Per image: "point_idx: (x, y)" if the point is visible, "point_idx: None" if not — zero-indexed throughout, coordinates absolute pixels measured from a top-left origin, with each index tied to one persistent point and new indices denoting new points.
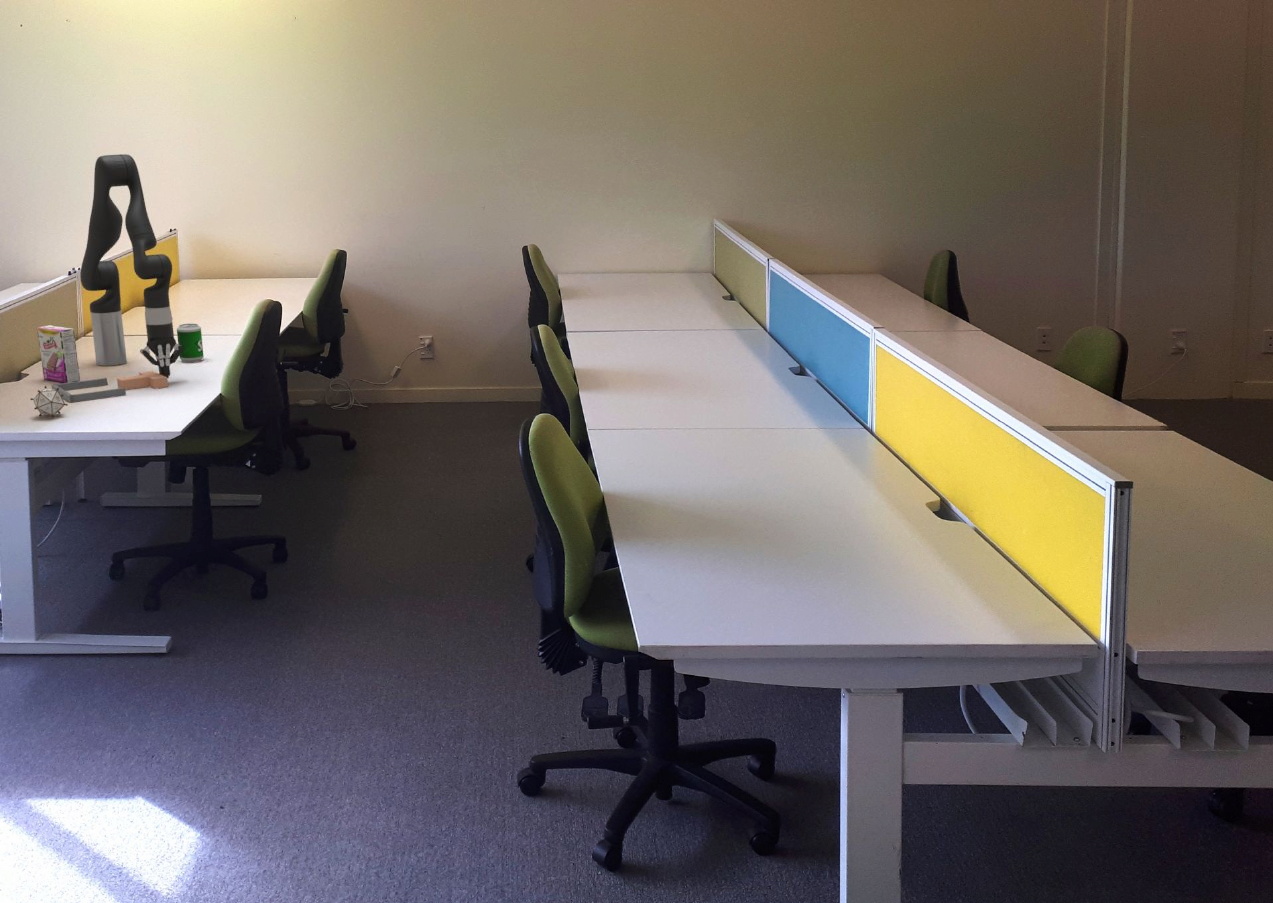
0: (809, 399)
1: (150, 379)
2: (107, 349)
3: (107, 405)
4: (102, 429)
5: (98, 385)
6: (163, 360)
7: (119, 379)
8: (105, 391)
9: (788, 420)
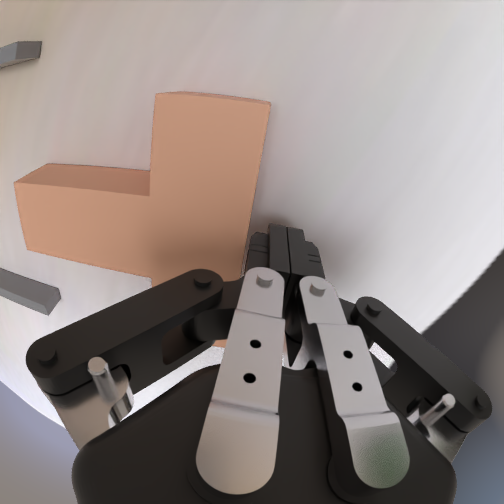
0: None
1: None
2: None
3: (28, 344)
4: (46, 414)
5: (9, 64)
6: (299, 316)
7: (20, 220)
8: (3, 295)
9: None
